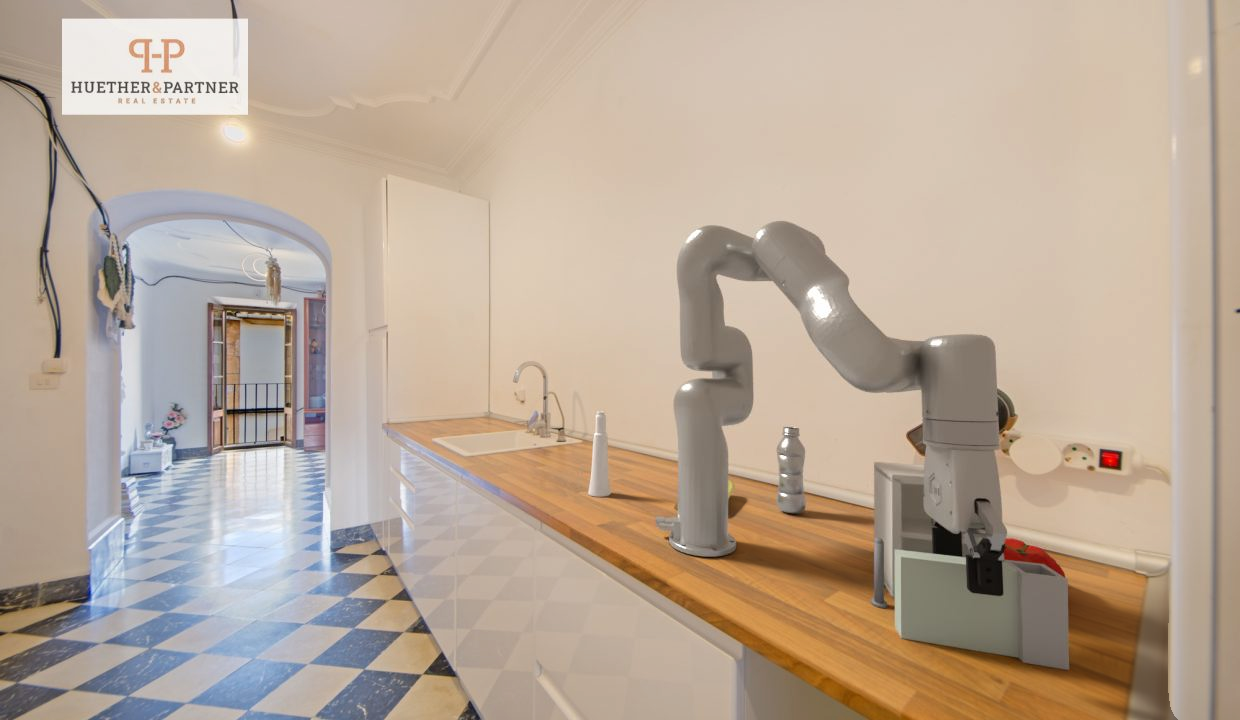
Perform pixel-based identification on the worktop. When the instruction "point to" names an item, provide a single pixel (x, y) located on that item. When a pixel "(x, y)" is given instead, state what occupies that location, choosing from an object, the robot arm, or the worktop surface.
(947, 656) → the worktop surface
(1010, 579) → the storage box
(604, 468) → the cosmetic bottle
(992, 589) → the robot arm
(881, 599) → the cabinet
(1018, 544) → the tomato
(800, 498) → the plastic bottle
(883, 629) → the worktop surface
